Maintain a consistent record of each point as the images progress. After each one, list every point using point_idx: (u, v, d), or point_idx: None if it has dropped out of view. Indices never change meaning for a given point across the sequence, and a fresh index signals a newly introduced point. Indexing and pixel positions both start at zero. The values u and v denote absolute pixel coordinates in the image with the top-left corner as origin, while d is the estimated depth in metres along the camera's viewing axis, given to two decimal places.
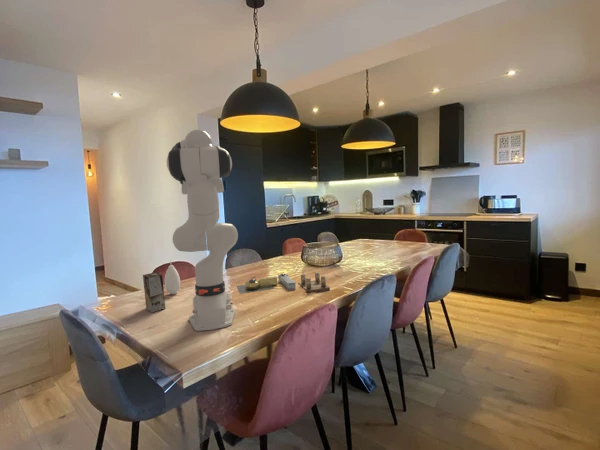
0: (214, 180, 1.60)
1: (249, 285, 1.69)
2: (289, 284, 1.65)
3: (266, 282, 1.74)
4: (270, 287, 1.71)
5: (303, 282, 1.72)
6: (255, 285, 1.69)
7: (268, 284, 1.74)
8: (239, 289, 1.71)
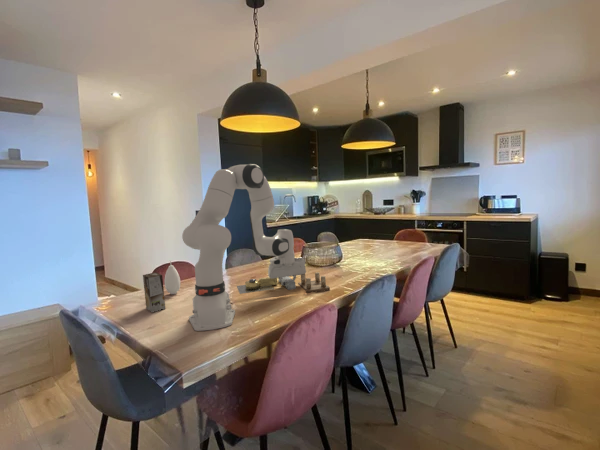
0: None
1: (249, 285, 1.69)
2: (289, 284, 1.65)
3: (266, 282, 1.74)
4: (270, 287, 1.71)
5: (303, 282, 1.72)
6: (255, 285, 1.69)
7: (268, 284, 1.74)
8: (239, 289, 1.71)
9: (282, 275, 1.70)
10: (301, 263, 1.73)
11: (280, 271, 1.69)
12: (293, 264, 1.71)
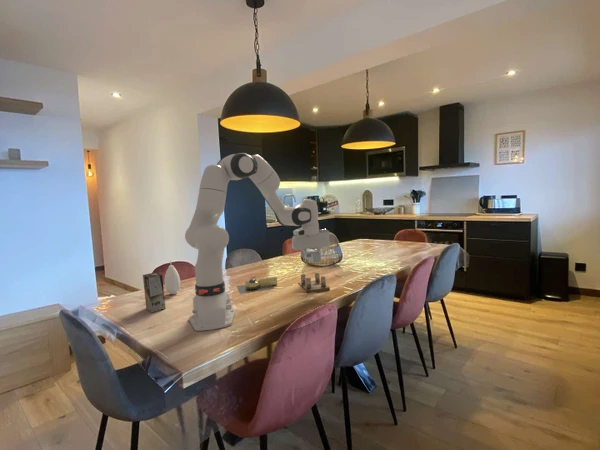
0: None
1: (249, 285, 1.69)
2: (314, 255, 1.60)
3: (266, 282, 1.74)
4: (270, 287, 1.71)
5: (303, 282, 1.72)
6: (255, 285, 1.69)
7: (268, 284, 1.74)
8: (239, 289, 1.71)
9: (306, 247, 1.65)
10: (325, 235, 1.68)
11: (304, 242, 1.65)
12: (317, 235, 1.67)
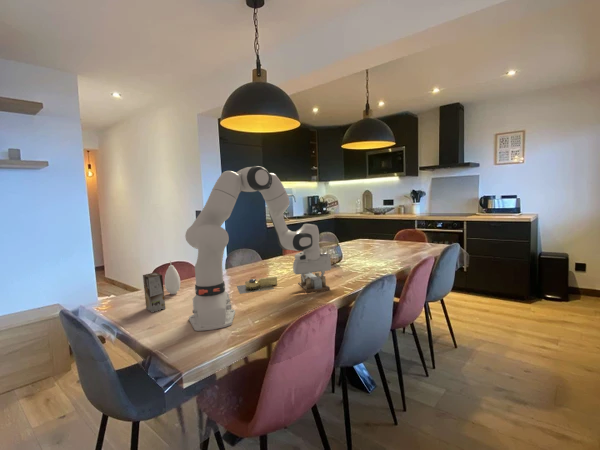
0: None
1: (249, 285, 1.69)
2: (315, 281, 1.61)
3: (266, 282, 1.74)
4: (270, 287, 1.71)
5: (303, 282, 1.72)
6: (255, 285, 1.69)
7: (268, 284, 1.74)
8: (239, 289, 1.71)
9: (308, 271, 1.66)
10: (326, 259, 1.69)
11: (305, 267, 1.66)
12: (319, 260, 1.68)
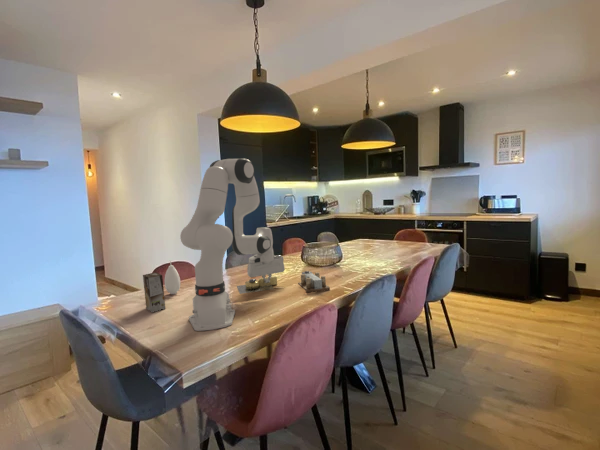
0: None
1: (249, 285, 1.69)
2: (315, 281, 1.61)
3: None
4: (270, 287, 1.71)
5: (303, 282, 1.72)
6: (255, 285, 1.69)
7: (268, 284, 1.74)
8: (239, 289, 1.71)
9: (262, 273, 1.69)
10: (280, 261, 1.74)
11: (260, 269, 1.69)
12: (272, 262, 1.72)
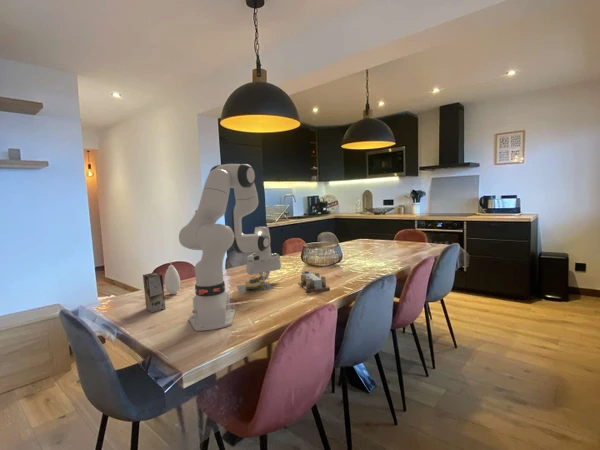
0: None
1: (256, 284, 1.69)
2: (315, 281, 1.61)
3: (260, 279, 1.79)
4: (270, 287, 1.71)
5: (303, 282, 1.72)
6: (260, 283, 1.72)
7: (261, 281, 1.80)
8: (239, 289, 1.71)
9: (260, 271, 1.77)
10: (277, 259, 1.82)
11: (258, 267, 1.76)
12: (270, 260, 1.80)
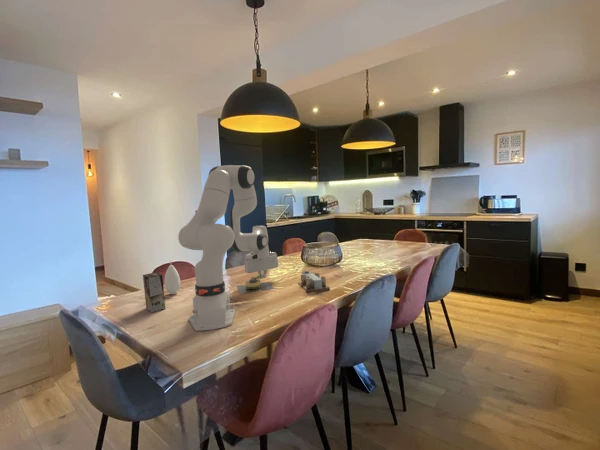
0: None
1: (257, 284, 1.70)
2: (315, 281, 1.61)
3: (258, 279, 1.80)
4: (270, 287, 1.71)
5: (303, 282, 1.72)
6: None
7: None
8: (239, 289, 1.71)
9: (259, 269, 1.79)
10: (274, 257, 1.85)
11: (257, 265, 1.78)
12: (268, 258, 1.83)
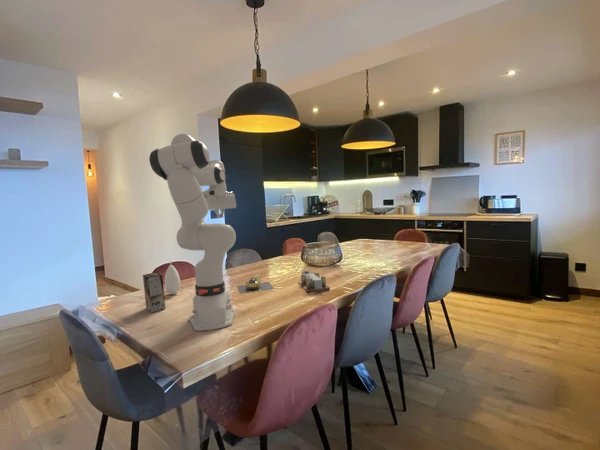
0: None
1: (257, 284, 1.70)
2: (315, 281, 1.61)
3: (258, 279, 1.80)
4: (270, 287, 1.71)
5: (303, 282, 1.72)
6: None
7: None
8: (239, 289, 1.71)
9: (216, 207, 1.69)
10: (232, 197, 1.77)
11: (213, 203, 1.68)
12: (225, 197, 1.73)
